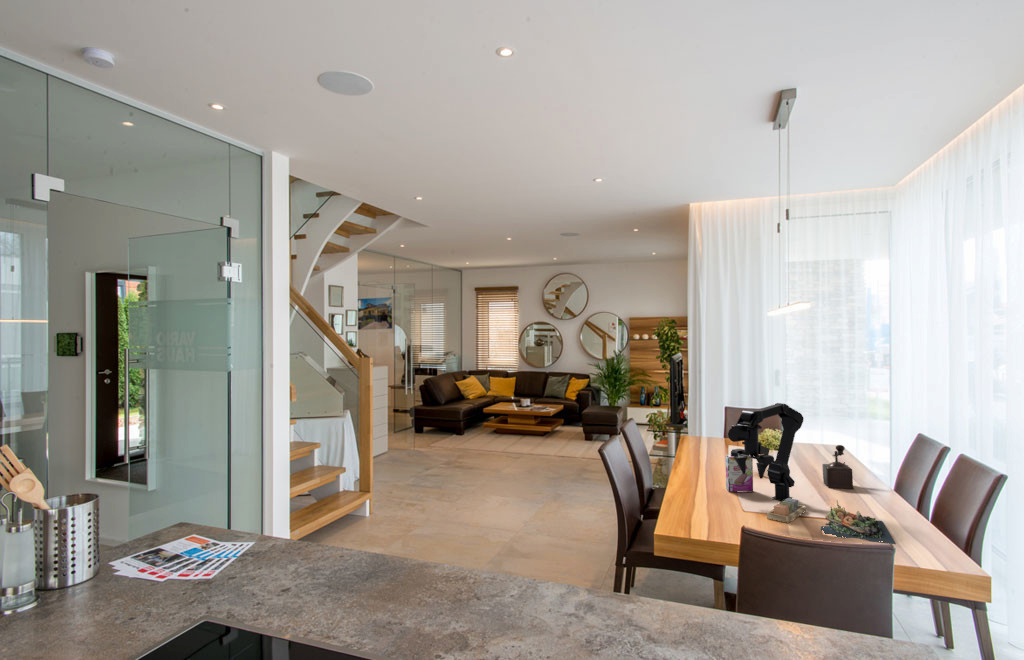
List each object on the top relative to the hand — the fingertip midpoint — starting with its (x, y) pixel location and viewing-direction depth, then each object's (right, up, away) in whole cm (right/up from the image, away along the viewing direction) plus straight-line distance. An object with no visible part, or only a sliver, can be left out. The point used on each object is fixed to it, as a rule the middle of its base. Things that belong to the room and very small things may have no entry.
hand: (752, 476), depth 232 cm
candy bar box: (+3, -13, +20) cm, 24 cm away
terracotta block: (+3, -11, -19) cm, 22 cm away
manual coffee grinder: (+53, -12, +27) cm, 60 cm away
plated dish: (+24, -12, -30) cm, 40 cm away
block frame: (+7, -11, -15) cm, 20 cm away
